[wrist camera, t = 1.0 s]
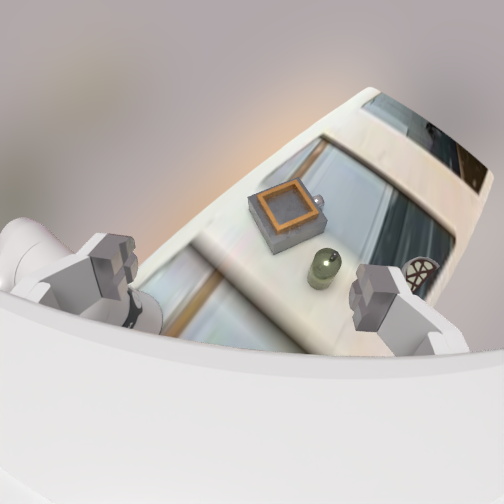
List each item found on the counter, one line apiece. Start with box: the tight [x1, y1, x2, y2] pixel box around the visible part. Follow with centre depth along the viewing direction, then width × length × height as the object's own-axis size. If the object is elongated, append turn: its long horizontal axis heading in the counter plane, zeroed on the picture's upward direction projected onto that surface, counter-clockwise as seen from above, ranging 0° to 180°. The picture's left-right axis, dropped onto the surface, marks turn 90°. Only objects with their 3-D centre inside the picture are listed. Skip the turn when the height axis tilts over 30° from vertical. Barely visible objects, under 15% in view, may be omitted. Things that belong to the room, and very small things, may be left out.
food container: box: [401, 257, 439, 294], centre depth 59 cm, size 12×6×10 cm, turn 124°
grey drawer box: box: [248, 177, 328, 255], centre depth 68 cm, size 17×14×8 cm
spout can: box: [308, 248, 342, 290], centre depth 59 cm, size 6×6×13 cm
